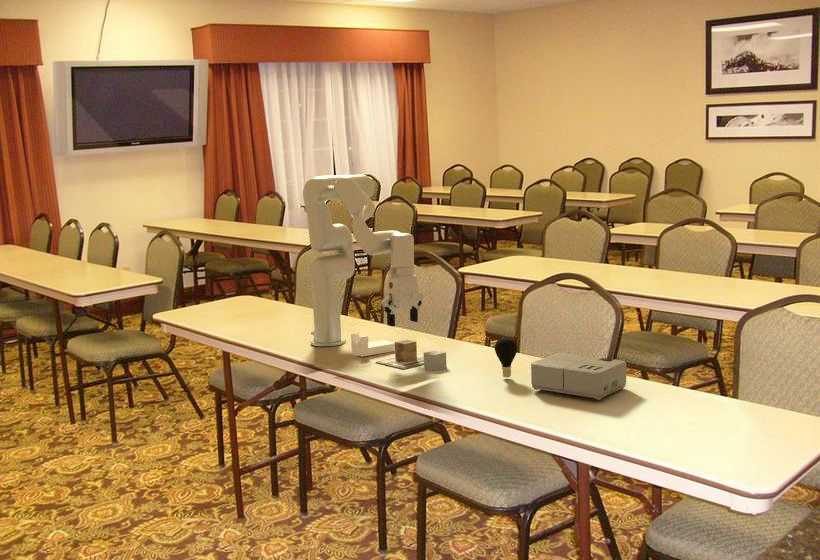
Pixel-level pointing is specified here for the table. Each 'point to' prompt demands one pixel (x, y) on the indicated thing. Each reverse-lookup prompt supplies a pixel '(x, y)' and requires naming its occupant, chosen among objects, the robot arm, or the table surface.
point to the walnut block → (405, 350)
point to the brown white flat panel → (403, 363)
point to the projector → (578, 375)
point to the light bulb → (506, 354)
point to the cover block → (435, 360)
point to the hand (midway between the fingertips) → (402, 323)
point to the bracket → (369, 346)
